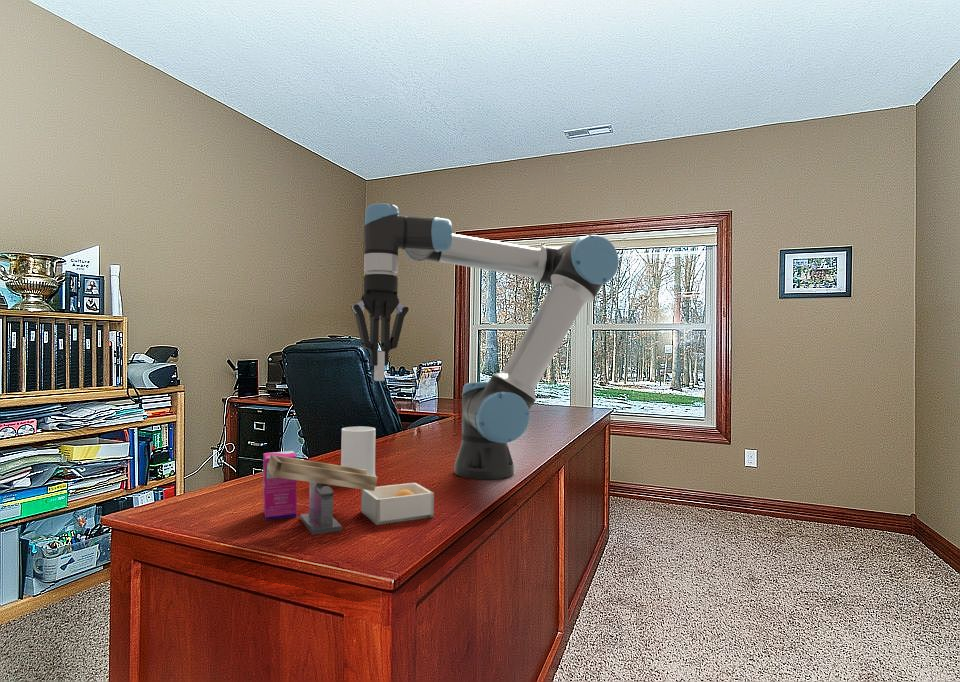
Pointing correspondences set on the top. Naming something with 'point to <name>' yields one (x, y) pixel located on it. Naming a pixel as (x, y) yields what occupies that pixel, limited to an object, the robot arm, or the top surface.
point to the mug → (358, 448)
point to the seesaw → (320, 473)
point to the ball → (404, 493)
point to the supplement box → (278, 491)
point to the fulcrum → (320, 510)
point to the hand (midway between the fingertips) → (379, 380)
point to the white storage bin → (397, 503)
